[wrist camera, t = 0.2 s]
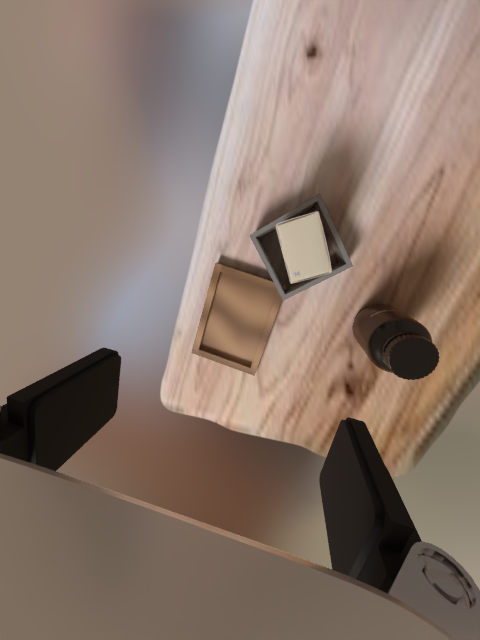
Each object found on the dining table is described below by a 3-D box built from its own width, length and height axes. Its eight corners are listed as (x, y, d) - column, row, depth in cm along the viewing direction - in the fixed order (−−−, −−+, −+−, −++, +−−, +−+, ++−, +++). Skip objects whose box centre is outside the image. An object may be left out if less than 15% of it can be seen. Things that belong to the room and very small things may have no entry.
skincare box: (319, 268, 37) (334, 276, 25) (289, 276, 38) (290, 287, 26) (308, 222, 35) (319, 208, 24) (278, 232, 36) (274, 223, 25)
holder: (316, 199, 34) (319, 193, 31) (345, 264, 36) (353, 266, 32) (253, 237, 37) (249, 235, 33) (283, 295, 39) (283, 300, 35)
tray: (217, 262, 39) (215, 263, 38) (286, 285, 38) (286, 286, 37) (194, 349, 43) (191, 352, 42) (255, 371, 43) (254, 375, 41)
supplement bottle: (375, 293, 36) (417, 312, 25) (412, 323, 36) (470, 356, 25) (340, 328, 38) (363, 361, 27) (375, 356, 39) (412, 401, 27)
